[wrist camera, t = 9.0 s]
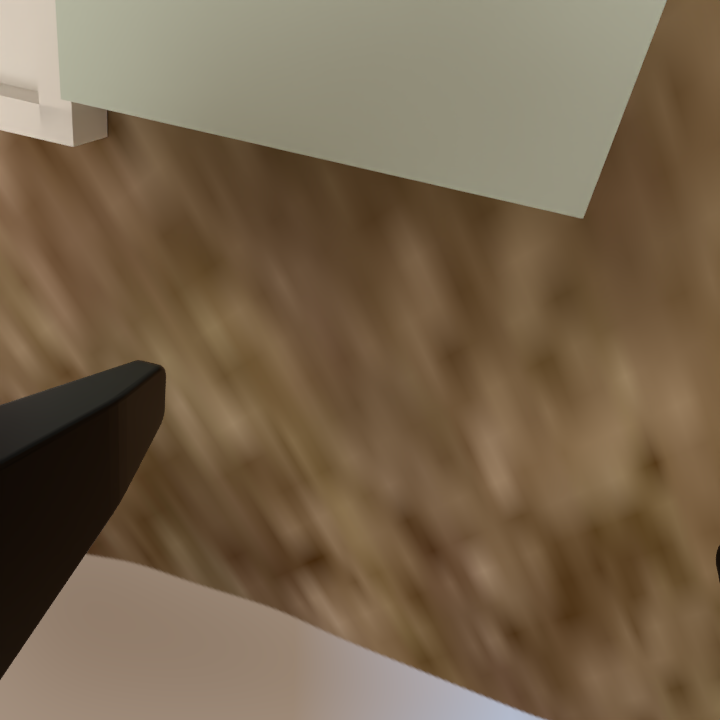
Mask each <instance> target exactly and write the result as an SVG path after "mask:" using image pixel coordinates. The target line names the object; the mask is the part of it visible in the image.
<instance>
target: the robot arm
mask: <svg viewBox="0 0 720 720" xmlns="http://www.w3.org/2000/svg"><path fill="white" fill-rule="evenodd" d="M165 386H166V373H165V369H164V368H163V367H162V366H161V365H157V364H153V363H149V362H145V361H141V360H137V361H133V362H130V363H127V364H124V365H121V366H118V367H115V368H112V369H109V370H106V371H103V372H100V373H97V374H94V375H91V376H88V377H85V378H82V379H79V380H76V381H73V382H69V383H66V384H63V385H60V386H57V387H54V388H51V389H48V390H45V391H42V392H39V393H36V394H33V395H30V396H27V397H24V398H21V399H18V400H15V401H12V402H9V403H5V404H2V405H0V680H1V678H2V677H3V675H4V674H5V672H6V671H7V669H8V668H9V666H10V665H11V663H12V662H13V660H14V659H15V657H16V656H17V654H18V653H19V652H20V650H21V649H22V647H23V645H24V644H25V643H26V641H27V640H28V638H29V637H30V635H31V634H32V632H33V631H34V629H35V628H36V626H37V625H38V624H39V622H40V620H41V619H42V618H43V616H44V615H45V613H46V612H47V610H48V609H49V607H50V606H51V604H52V603H53V601H54V600H55V598H56V597H57V595H58V594H59V592H60V591H61V590H62V588H63V587H64V585H65V584H66V582H67V581H68V579H69V578H70V576H71V575H72V573H73V572H74V570H75V569H76V568H77V566H78V565H79V563H80V562H81V560H82V559H83V557H84V556H85V554H86V553H87V551H88V550H89V548H90V547H91V545H92V544H93V542H94V541H95V539H96V538H97V537H98V535H99V534H100V532H101V531H102V529H103V528H104V526H105V525H106V523H107V522H108V520H109V519H110V517H111V516H112V514H113V513H114V511H115V510H116V508H117V506H118V505H119V503H120V502H121V500H122V498H123V496H124V494H125V493H126V491H127V489H128V487H129V485H130V483H131V481H132V479H133V477H134V475H135V473H136V471H137V469H138V468H139V466H140V464H141V462H142V460H143V458H144V456H145V454H146V452H147V450H148V448H149V446H150V444H151V442H152V440H153V439H154V437H155V435H156V433H157V431H158V429H159V427H160V425H161V423H162V420H163V416H164V411H165ZM716 566H717V571H718V576H719V581H720V545H719V547H718V550H717V554H716Z"/></svg>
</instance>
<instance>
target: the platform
mask: <svg viewBox="0 0 720 720" xmlns="http://www.w3.org/2000/svg"><path fill="white" fill-rule="evenodd" d="M666 1H667V0H55V4H56V22H57V40H58V57H59V75H60V93H61V99H62V100H66V101H71V102H75V103H79V104H84V105H88V106H93V107H97V108H101V109H106V110H110V111H114V112H119V113H123V114H127V115H132V116H136V117H141V118H145V119H149V120H154V121H158V122H162V123H167V124H171V125H175V126H180V127H184V128H189V129H193V130H197V131H202V132H206V133H210V134H215V135H219V136H223V137H228V138H232V139H237V140H241V141H245V142H250V143H254V144H258V145H263V146H267V147H271V148H276V149H280V150H284V151H289V152H293V153H298V154H302V155H306V156H311V157H315V158H319V159H324V160H328V161H332V162H337V163H341V164H346V165H350V166H354V167H359V168H363V169H367V170H372V171H376V172H380V173H385V174H389V175H394V176H398V177H402V178H407V179H411V180H415V181H420V182H424V183H428V184H433V185H437V186H442V187H446V188H450V189H455V190H459V191H463V192H468V193H472V194H476V195H481V196H485V197H490V198H494V199H498V200H503V201H507V202H511V203H516V204H520V205H524V206H529V207H533V208H538V209H542V210H546V211H551V212H555V213H559V214H564V215H568V216H572V217H577V218H581V219H583V217H584V215H585V212H586V210H587V207H588V204H589V202H590V199H591V197H592V194H593V191H594V189H595V186H596V183H597V181H598V178H599V176H600V173H601V170H602V168H603V165H604V163H605V160H606V157H607V155H608V152H609V150H610V147H611V144H612V142H613V139H614V137H615V134H616V131H617V129H618V126H619V124H620V121H621V118H622V116H623V113H624V111H625V108H626V105H627V103H628V100H629V97H630V95H631V92H632V90H633V87H634V84H635V82H636V79H637V77H638V74H639V71H640V69H641V66H642V64H643V61H644V58H645V56H646V53H647V51H648V48H649V45H650V43H651V40H652V38H653V35H654V32H655V30H656V27H657V24H658V22H659V19H660V17H661V14H662V11H663V9H664V6H665V4H666Z"/></svg>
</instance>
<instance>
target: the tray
mask: <svg viewBox="0 0 720 720" xmlns="http://www.w3.org/2000/svg"><path fill="white" fill-rule="evenodd" d="M0 130H3V131H7V132H11V133H16V134H20V135H24V136H29V137H33V138H37V139H41V140H46V141H50V142H54V143H59V144H63V145H67V146H72V147H75V146H78V145H82V144H85V143H88V142H92V141H95V140H99V139H102V138H105V137H107V110H106V109H101V108H97V107H93V106H88V105H84V104H79V103H75V102H71V101H66V100H62V99H61V93H60V75H59V57H58V40H57V22H56V4H55V0H0Z"/></svg>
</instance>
